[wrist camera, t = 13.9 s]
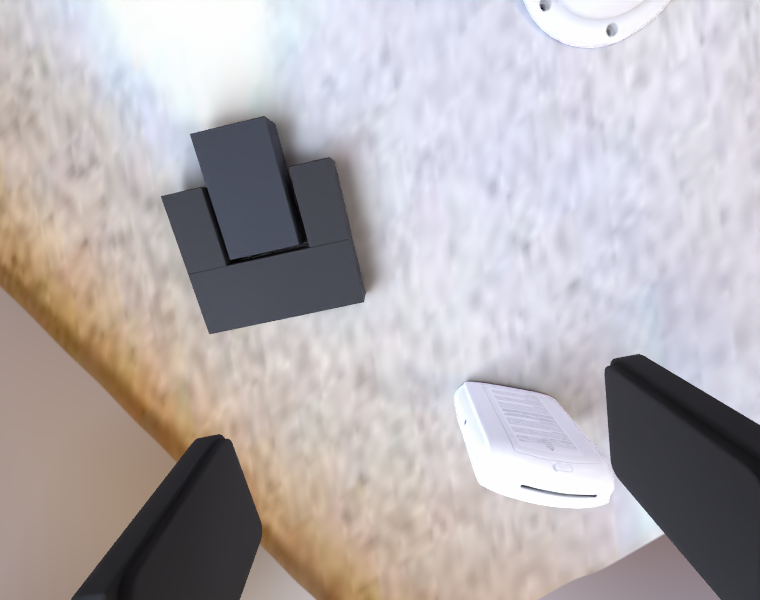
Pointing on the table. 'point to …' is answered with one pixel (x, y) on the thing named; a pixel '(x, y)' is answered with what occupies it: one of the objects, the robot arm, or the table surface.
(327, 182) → the base pad
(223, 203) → the pad
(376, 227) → the table surface
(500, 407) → the photo printer
